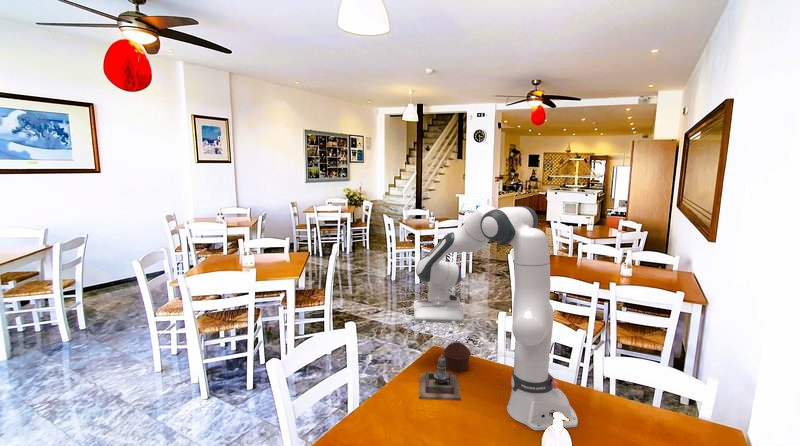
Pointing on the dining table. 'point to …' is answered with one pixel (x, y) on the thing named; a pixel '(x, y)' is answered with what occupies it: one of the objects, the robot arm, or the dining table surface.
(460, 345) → the muffin
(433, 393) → the walnut board
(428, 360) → the dining table surface
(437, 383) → the grey chess piece
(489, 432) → the dining table surface
